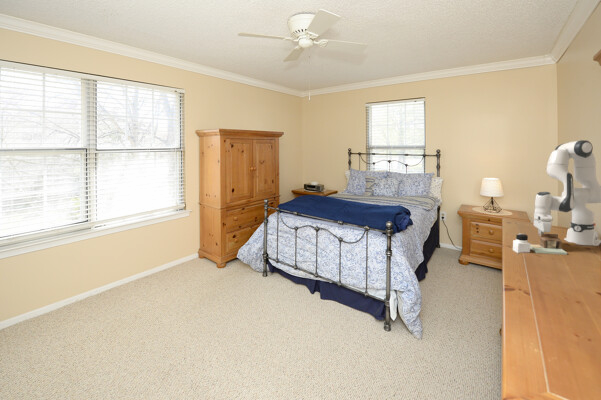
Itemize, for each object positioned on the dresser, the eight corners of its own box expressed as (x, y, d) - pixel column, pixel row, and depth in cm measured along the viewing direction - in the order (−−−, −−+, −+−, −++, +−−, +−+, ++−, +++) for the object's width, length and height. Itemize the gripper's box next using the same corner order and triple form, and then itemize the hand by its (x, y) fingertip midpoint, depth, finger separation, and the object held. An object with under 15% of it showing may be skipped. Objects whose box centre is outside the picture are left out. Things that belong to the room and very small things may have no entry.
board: (556, 249, 202) (557, 245, 201) (566, 256, 188) (567, 252, 188) (527, 247, 208) (528, 243, 207) (535, 254, 194) (535, 250, 193)
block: (552, 248, 201) (553, 239, 200) (555, 250, 197) (556, 241, 196) (544, 247, 203) (545, 239, 202) (547, 249, 198) (547, 241, 198)
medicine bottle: (530, 253, 195) (531, 235, 194) (517, 253, 197) (518, 235, 195) (524, 250, 202) (525, 233, 201) (512, 250, 204) (513, 233, 202)
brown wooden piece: (556, 245, 201) (557, 234, 200) (561, 248, 195) (561, 237, 193) (540, 244, 204) (540, 233, 203) (543, 247, 198) (544, 236, 197)
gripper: (531, 212, 216) (530, 231, 218) (541, 218, 197) (540, 239, 199) (542, 213, 213) (541, 232, 215) (553, 219, 194) (552, 239, 196)
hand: (540, 235), depth 207 cm, fingers closed
